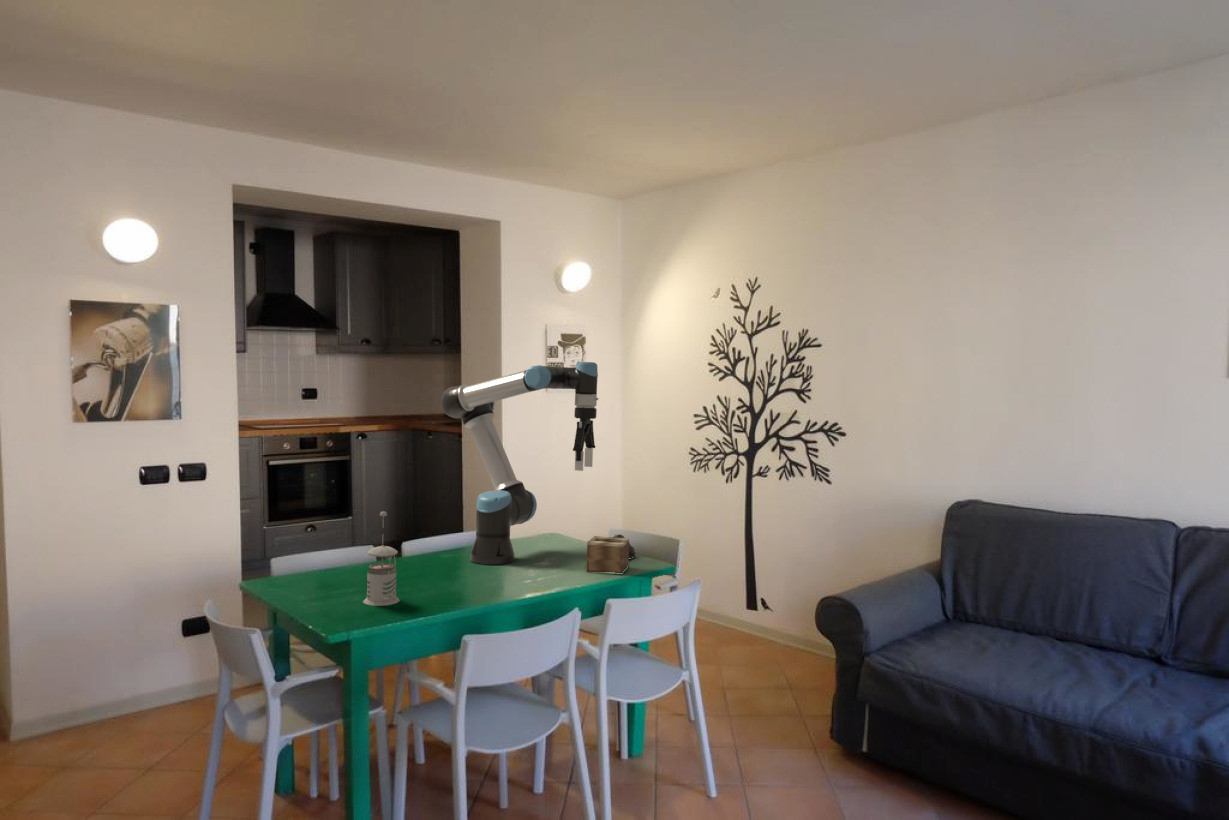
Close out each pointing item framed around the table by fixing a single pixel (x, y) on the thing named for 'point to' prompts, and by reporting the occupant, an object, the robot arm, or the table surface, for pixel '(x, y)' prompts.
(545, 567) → the table surface
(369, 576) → the french press
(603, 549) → the coin box
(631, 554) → the fossil
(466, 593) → the table surface
